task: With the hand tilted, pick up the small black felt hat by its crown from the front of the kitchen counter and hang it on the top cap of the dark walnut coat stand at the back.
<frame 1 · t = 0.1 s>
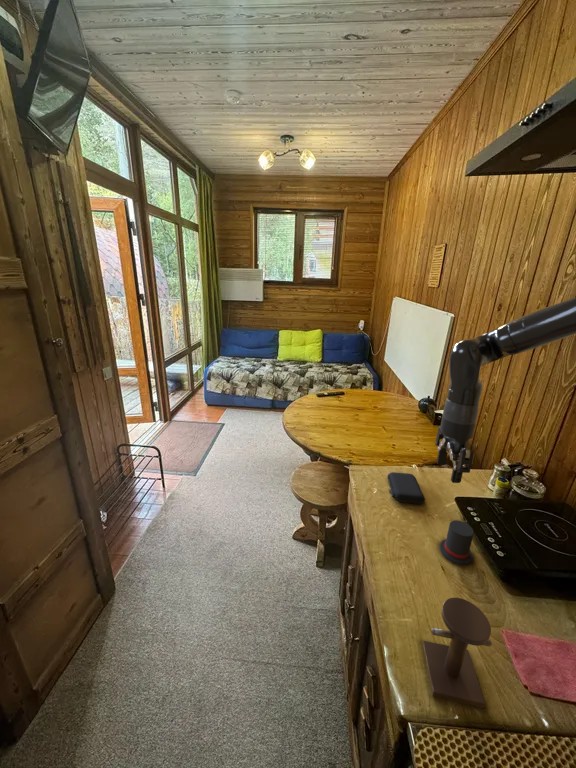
hand: (447, 472, 82), 18 cm above the kitchen counter, tool pointing down, fingers open, 8 cm apart
hat: (455, 552, 80), on the kitchen counter
carrying case: (402, 491, 104), on the kitchen counter
coat stand: (450, 674, 55), on the kitchen counter
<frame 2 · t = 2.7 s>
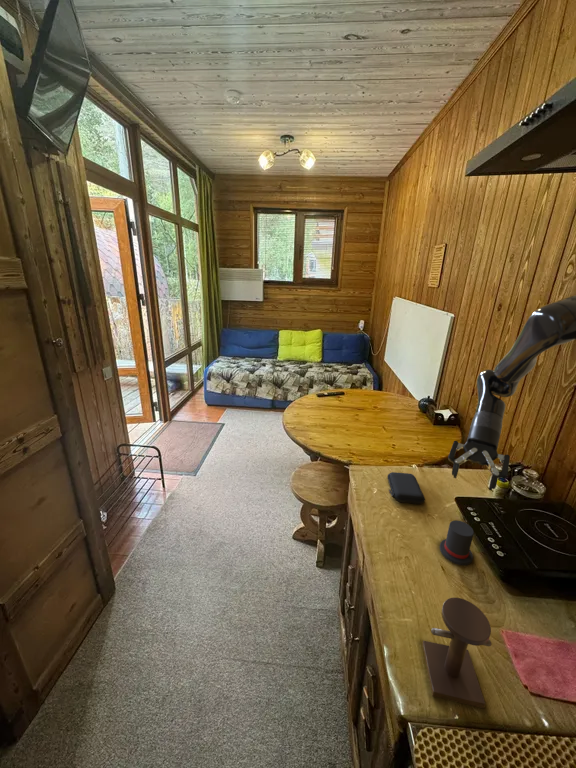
hand: (472, 483, 84), 15 cm above the kitchen counter, tool tilted 45°, fingers open, 8 cm apart
nothing on the kitchen counter moved.
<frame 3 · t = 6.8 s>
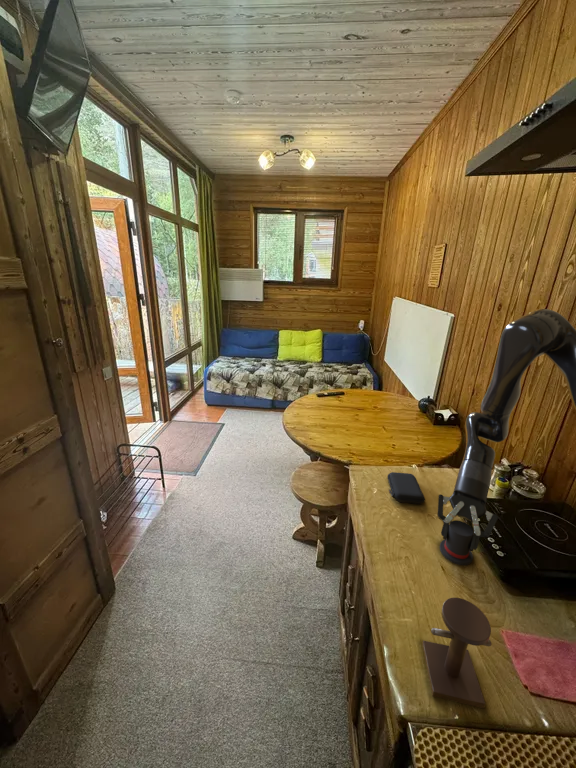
hand: (457, 544, 77), 4 cm above the kitchen counter, tool tilted 45°, fingers closed on hat, 5 cm apart
hat: (455, 552, 80), on the kitchen counter, touching gripper
everything else where it was.
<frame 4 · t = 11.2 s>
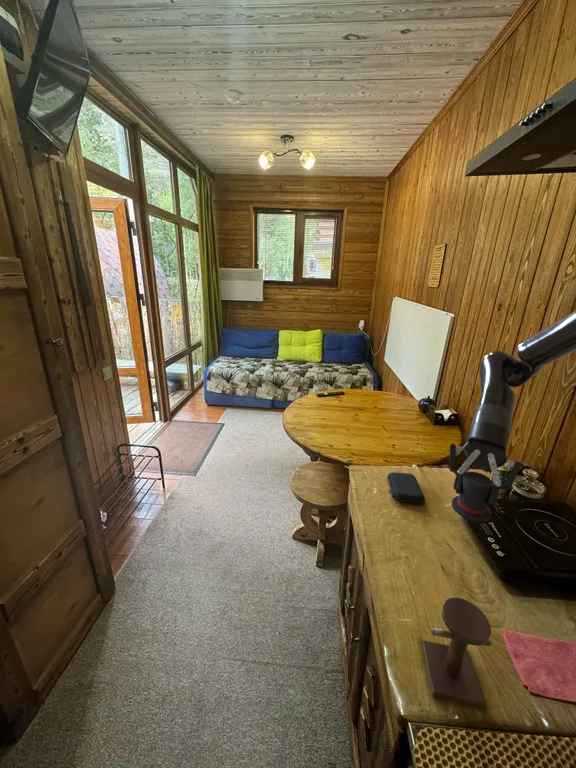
hand: (473, 498, 65), 23 cm above the kitchen counter, tool tilted 45°, fingers closed on hat, 5 cm apart
hat: (470, 509, 68), point 19 cm above the kitchen counter, touching gripper
everything else where it was.
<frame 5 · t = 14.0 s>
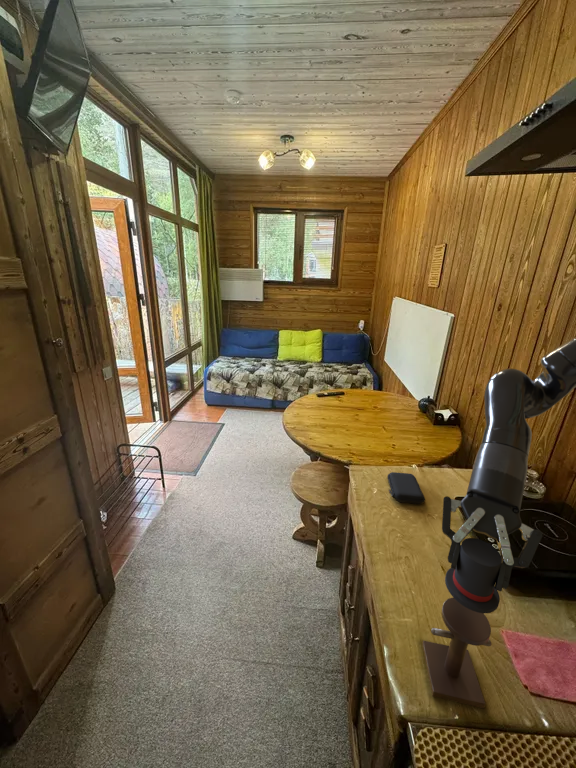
hand: (475, 578, 47), 23 cm above the kitchen counter, tool tilted 45°, fingers closed on hat, 5 cm apart
hat: (470, 589, 50), point 19 cm above the kitchen counter, touching gripper
everything else where it was.
when the fingers open (18 cm above the kitchen counter, at t = 16.0 s): hat stays where it is, resting on coat stand.
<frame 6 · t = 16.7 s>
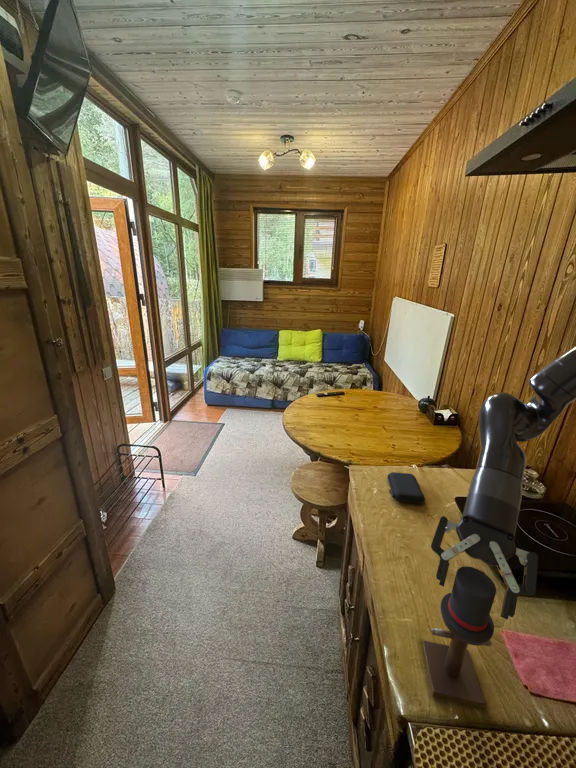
hand: (471, 601, 48), 19 cm above the kitchen counter, tool tilted 45°, fingers open, 8 cm apart
hat: (465, 617, 50), point 14 cm above the kitchen counter, touching coat stand
everything else where it was.
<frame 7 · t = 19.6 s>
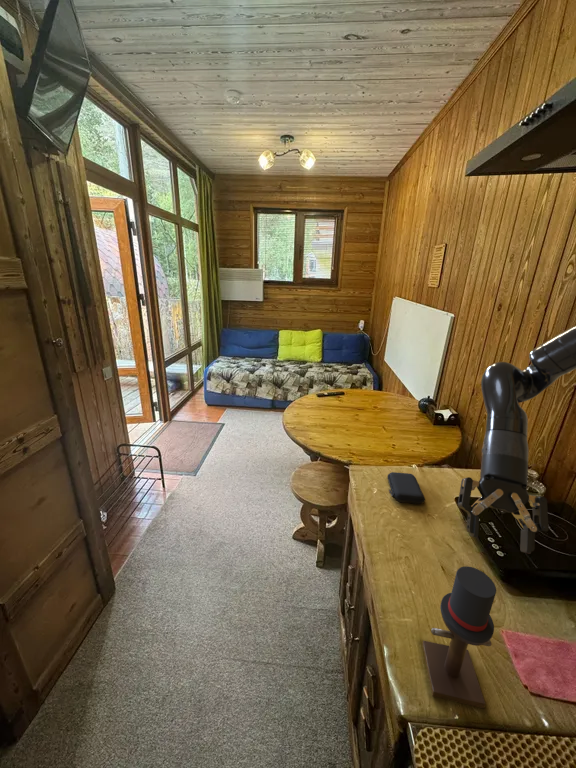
hand: (499, 544, 56), 21 cm above the kitchen counter, tool tilted 40°, fingers open, 8 cm apart
nothing on the kitchen counter moved.
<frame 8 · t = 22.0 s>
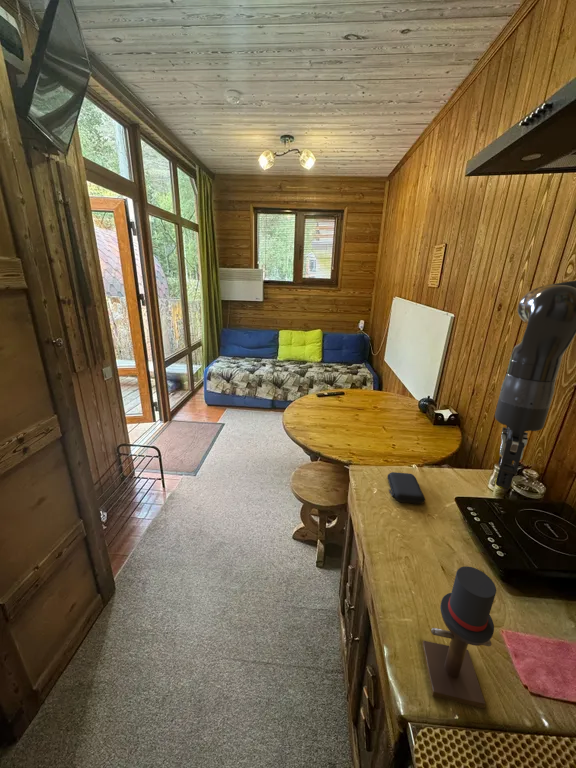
hand: (503, 475, 61), 30 cm above the kitchen counter, tool pointing down, fingers open, 8 cm apart
nothing on the kitchen counter moved.
at the end: hat 0.0 cm off-centre on the coat stand, point 14.0 cm above the coat stand's base; hat tilted 0°; hat touching coat stand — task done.
